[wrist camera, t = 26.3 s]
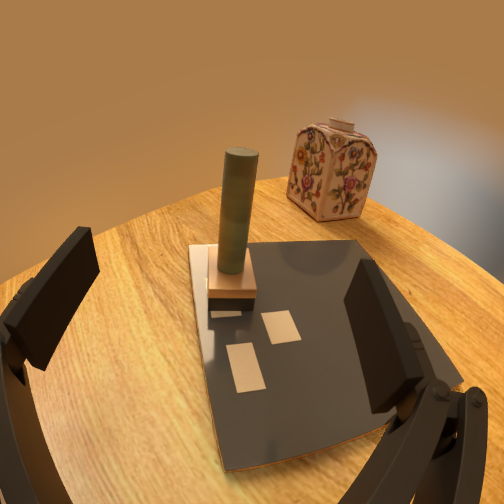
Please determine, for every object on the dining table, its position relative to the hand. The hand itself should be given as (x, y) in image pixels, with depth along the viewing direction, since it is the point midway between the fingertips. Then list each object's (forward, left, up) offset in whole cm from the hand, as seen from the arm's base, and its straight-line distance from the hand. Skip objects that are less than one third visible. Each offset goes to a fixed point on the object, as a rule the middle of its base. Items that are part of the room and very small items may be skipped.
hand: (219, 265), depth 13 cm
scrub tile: (-7, +13, -14) cm, 20 cm away
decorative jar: (-35, +27, -14) cm, 47 cm away
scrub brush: (-13, +3, -13) cm, 18 cm away
